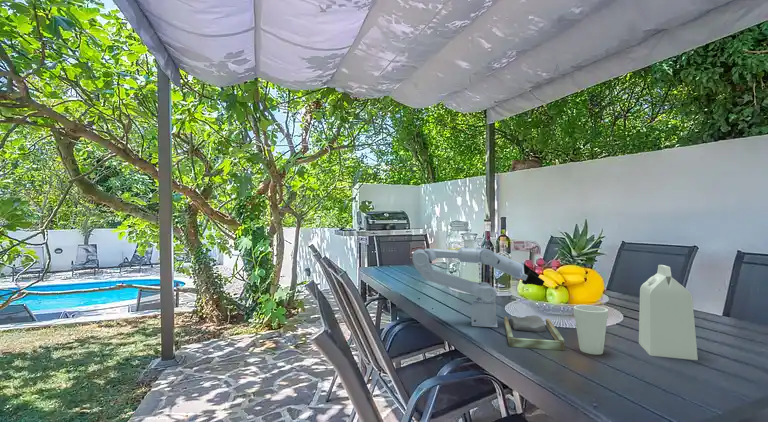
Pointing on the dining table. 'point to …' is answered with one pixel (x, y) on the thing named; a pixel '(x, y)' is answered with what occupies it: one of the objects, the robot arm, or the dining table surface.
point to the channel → (536, 343)
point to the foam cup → (591, 327)
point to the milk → (666, 317)
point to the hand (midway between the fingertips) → (540, 280)
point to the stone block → (527, 323)
